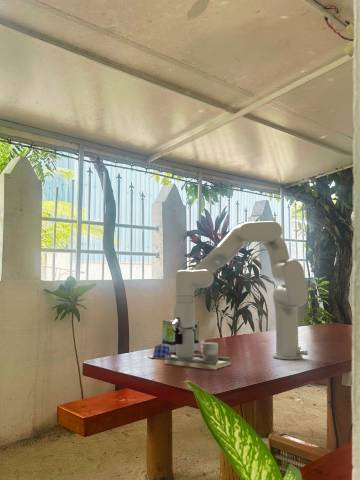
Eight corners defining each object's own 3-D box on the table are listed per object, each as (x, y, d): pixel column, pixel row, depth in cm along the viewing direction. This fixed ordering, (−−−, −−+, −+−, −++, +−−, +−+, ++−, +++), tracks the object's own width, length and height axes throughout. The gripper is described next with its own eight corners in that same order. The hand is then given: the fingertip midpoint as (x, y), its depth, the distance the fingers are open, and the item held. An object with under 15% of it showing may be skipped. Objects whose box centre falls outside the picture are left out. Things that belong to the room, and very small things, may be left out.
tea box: (172, 353, 206) (172, 321, 207) (161, 350, 214) (161, 319, 216) (199, 351, 214) (199, 319, 215) (187, 348, 222) (187, 318, 224)
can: (175, 356, 184) (175, 327, 185) (193, 356, 185) (193, 327, 186) (176, 359, 176) (176, 329, 178) (195, 359, 177) (195, 328, 178)
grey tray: (230, 364, 176) (230, 342, 176) (214, 369, 165) (214, 346, 166) (182, 359, 188) (182, 339, 189) (164, 363, 178) (164, 341, 179)
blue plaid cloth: (179, 356, 198) (179, 344, 199) (169, 360, 187) (169, 348, 188) (154, 355, 202) (154, 343, 203) (143, 359, 191) (143, 346, 192)
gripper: (188, 299, 192) (189, 339, 190) (165, 300, 178) (165, 344, 176) (203, 299, 188) (204, 340, 186) (180, 301, 174) (181, 345, 172)
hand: (185, 342), depth 181 cm, fingers open, 9 cm apart
